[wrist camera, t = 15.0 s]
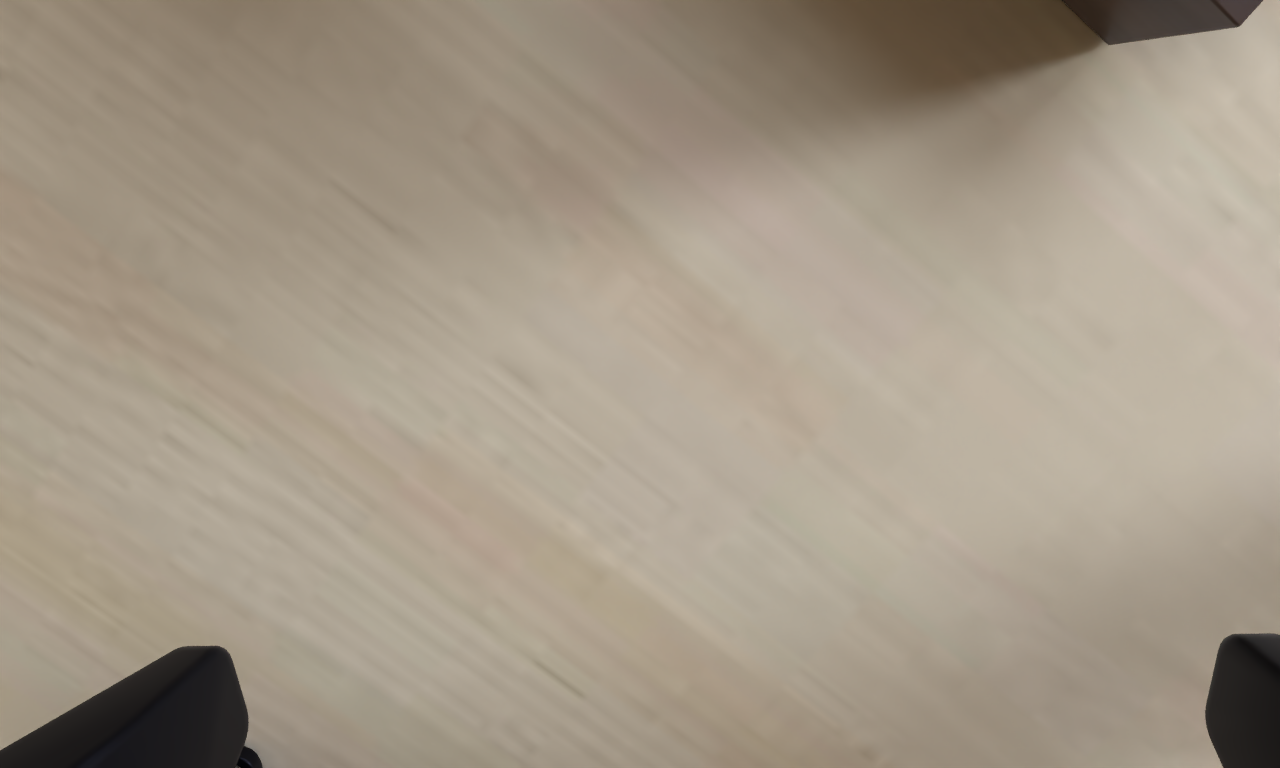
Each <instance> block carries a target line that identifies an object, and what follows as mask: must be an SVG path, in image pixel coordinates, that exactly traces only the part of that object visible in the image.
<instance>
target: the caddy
mask: <svg viewBox="0 0 1280 768" xmlns="http://www.w3.org/2000/svg"><path fill="white" fill-rule="evenodd" d="M1062 1H1063V2H1064V3H1065V4H1066V5H1068V6H1069V7H1070V8H1071V9H1072V10H1073V11H1074V12H1075V13H1076V14H1077V15H1078V16H1079V17H1080V18H1081V19H1082V20H1083V21H1084V22H1085V23H1086V24H1087V25H1088V26H1089V27H1090V28H1091V29H1092V30H1094V31H1095V32H1096V33H1097V34H1098V35H1099V36H1100V37H1101V38H1102V39H1103V40H1104V41H1105V42H1106V43H1107V44H1108V45H1113V44H1120V43H1127V42H1134V41H1141V40H1149V39H1156V38H1163V37H1170V36H1177V35H1185V34H1192V33H1199V32H1206V31H1213V30H1221V29H1228V28H1235V27H1239V26H1240V25H1241V24H1242V23H1243V22H1244V21H1245V20H1246V19H1247V18H1248V16H1249V15H1250V14H1251V13H1252V12H1253V11H1254V10H1255V9H1256V8H1257V7H1258V5H1259V4H1260V3H1261V2H1262V1H1263V0H1062Z"/></svg>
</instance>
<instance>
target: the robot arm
mask: <svg viewBox="0 0 1280 768" xmlns="http://www.w3.org/2000/svg"><path fill="white" fill-rule="evenodd" d="M1205 717H1206V725H1207V729H1208V733H1209V736H1210V739H1211V741H1212V743H1213V746H1214V748H1215V750H1216V752H1217V755H1218V757H1219V759H1220V761H1221V763H1222V766H1223V768H1280V635H1278V634H1232V635H1230V636H1228V637H1226V638H1225V639H1224V640H1223V641H1222V643H1221V644H1220V647H1219V650H1218V654H1217V658H1216V663H1215V667H1214V672H1213V676H1212V681H1211V685H1210V690H1209V694H1208V699H1207V703H1206V710H1205ZM248 723H249V722H248V712H247V708H246V705H245V701H244V698H243V694H242V691H241V688H240V684H239V681H238V678H237V674H236V671H235V667H234V664H233V661H232V658H231V656H230V654H229V653H228V652H227V650H226V649H224V648H222V647H220V646H186V647H180V648H177V649H175V650H173V651H172V652H170V653H168V654H166V655H165V656H163V657H161V658H159V659H158V660H156V661H154V662H153V663H151V664H149V665H147V666H146V667H144V668H142V669H140V670H139V671H137V672H135V673H134V674H132V675H130V676H128V677H127V678H125V679H123V680H121V681H120V682H118V683H116V684H114V685H113V686H111V687H109V688H108V689H106V690H104V691H102V692H101V693H99V694H97V695H95V696H94V697H92V698H90V699H89V700H87V701H85V702H83V703H82V704H80V705H78V706H76V707H75V708H73V709H71V710H70V711H68V712H66V713H64V714H63V715H61V716H59V717H57V718H56V719H54V720H52V721H50V722H49V723H47V724H45V725H44V726H42V727H40V728H38V729H37V730H35V731H33V732H31V733H30V734H28V735H26V736H25V737H23V738H21V739H19V740H18V741H16V742H14V743H12V744H11V745H9V746H7V747H6V748H4V749H2V750H0V768H235V767H236V765H237V766H239V767H241V768H262V764H261V761H260V759H259V757H258V755H257V754H256V753H255V752H254V751H253V750H252V749H250V748H247V747H245V746H244V743H245V740H246V737H247V732H248Z"/></svg>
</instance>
